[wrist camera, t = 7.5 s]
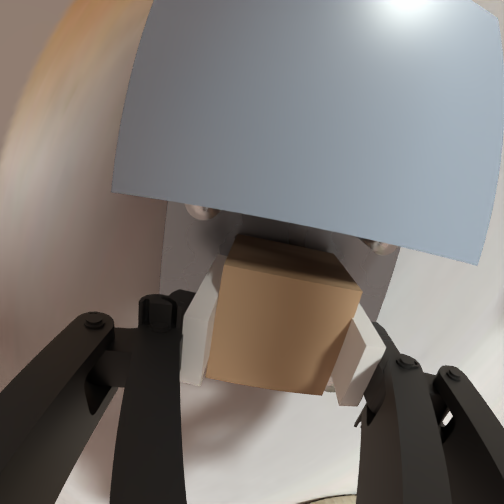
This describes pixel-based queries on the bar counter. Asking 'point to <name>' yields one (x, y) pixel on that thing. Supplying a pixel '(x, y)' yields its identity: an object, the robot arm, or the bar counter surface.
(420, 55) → the housing cover
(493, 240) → the bar counter surface
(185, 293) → the robot arm
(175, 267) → the housing base
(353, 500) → the canister
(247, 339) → the light brown cube
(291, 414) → the bar counter surface
